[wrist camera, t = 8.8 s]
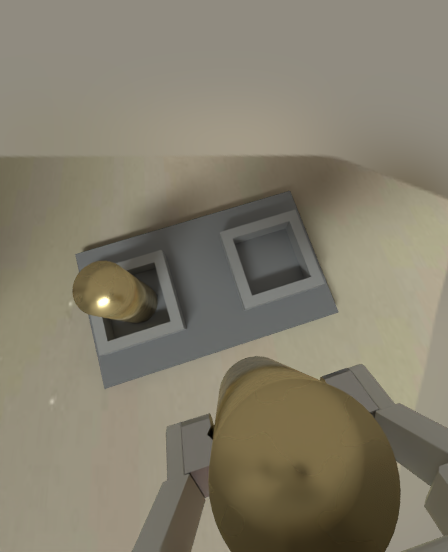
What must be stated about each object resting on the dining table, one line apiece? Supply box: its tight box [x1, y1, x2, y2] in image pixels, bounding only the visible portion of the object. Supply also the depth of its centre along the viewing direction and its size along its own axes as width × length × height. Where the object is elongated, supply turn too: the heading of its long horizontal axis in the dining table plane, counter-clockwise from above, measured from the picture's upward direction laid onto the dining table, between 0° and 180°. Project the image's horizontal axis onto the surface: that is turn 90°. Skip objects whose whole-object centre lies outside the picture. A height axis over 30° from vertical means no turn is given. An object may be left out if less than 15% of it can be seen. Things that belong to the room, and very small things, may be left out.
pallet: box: [75, 191, 338, 389], centre depth 30 cm, size 24×14×3 cm, turn 108°
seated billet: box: [73, 261, 158, 323], centre depth 25 cm, size 4×4×9 cm
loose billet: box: [208, 356, 400, 552], centre depth 10 cm, size 4×4×9 cm
